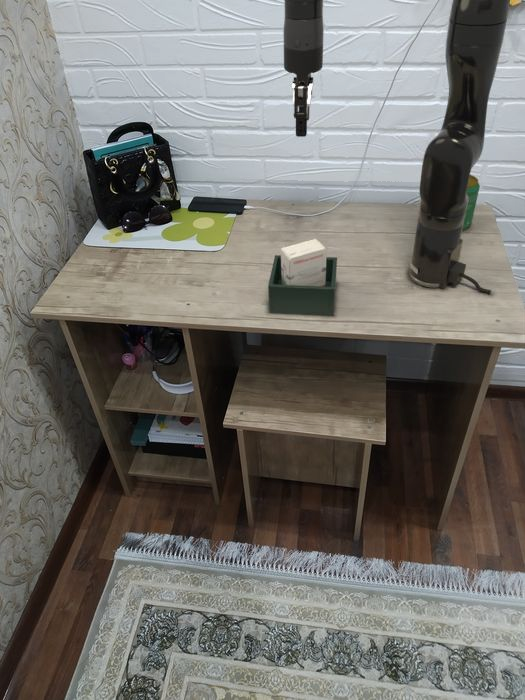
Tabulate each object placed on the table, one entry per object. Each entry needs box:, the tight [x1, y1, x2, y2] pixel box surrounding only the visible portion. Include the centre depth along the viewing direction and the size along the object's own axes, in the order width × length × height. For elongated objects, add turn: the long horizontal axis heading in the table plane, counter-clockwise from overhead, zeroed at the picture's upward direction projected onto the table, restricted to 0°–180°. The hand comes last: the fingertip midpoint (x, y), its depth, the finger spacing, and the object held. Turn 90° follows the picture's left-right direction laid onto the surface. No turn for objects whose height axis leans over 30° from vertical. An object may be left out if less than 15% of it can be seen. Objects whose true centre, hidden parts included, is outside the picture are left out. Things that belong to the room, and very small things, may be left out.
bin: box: [267, 254, 338, 317], centre depth 123 cm, size 14×12×7 cm
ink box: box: [280, 238, 328, 287], centre depth 120 cm, size 9×5×12 cm, turn 113°
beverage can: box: [462, 174, 481, 232], centre depth 140 cm, size 8×8×12 cm
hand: (302, 127), depth 119 cm, fingers open, 8 cm apart
